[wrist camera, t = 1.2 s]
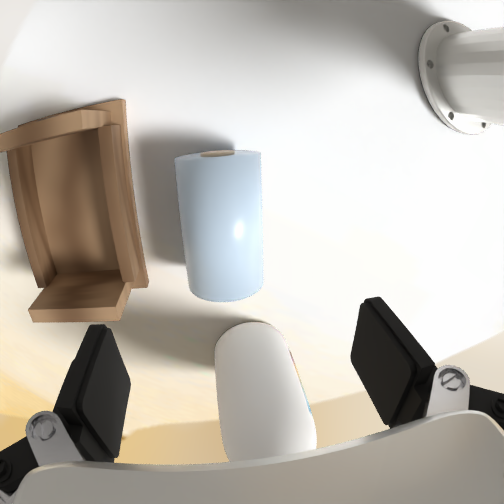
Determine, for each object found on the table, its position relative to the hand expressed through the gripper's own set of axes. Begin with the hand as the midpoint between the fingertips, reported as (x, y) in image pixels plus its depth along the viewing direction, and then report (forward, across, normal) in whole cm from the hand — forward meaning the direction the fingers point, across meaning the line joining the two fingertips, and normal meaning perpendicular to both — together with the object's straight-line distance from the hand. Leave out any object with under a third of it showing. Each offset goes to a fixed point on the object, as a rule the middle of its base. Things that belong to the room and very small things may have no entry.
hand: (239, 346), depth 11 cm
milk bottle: (+16, -2, +15) cm, 22 cm away
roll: (+16, 0, 0) cm, 16 cm away
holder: (+16, +12, -2) cm, 20 cm away
